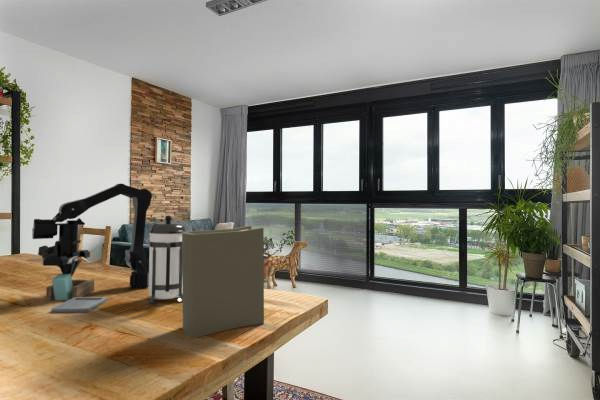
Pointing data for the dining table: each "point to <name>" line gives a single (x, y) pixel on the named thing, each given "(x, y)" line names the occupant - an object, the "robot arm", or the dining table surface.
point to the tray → (80, 304)
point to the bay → (74, 288)
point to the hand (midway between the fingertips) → (67, 281)
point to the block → (62, 286)
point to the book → (222, 279)
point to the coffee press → (165, 261)
